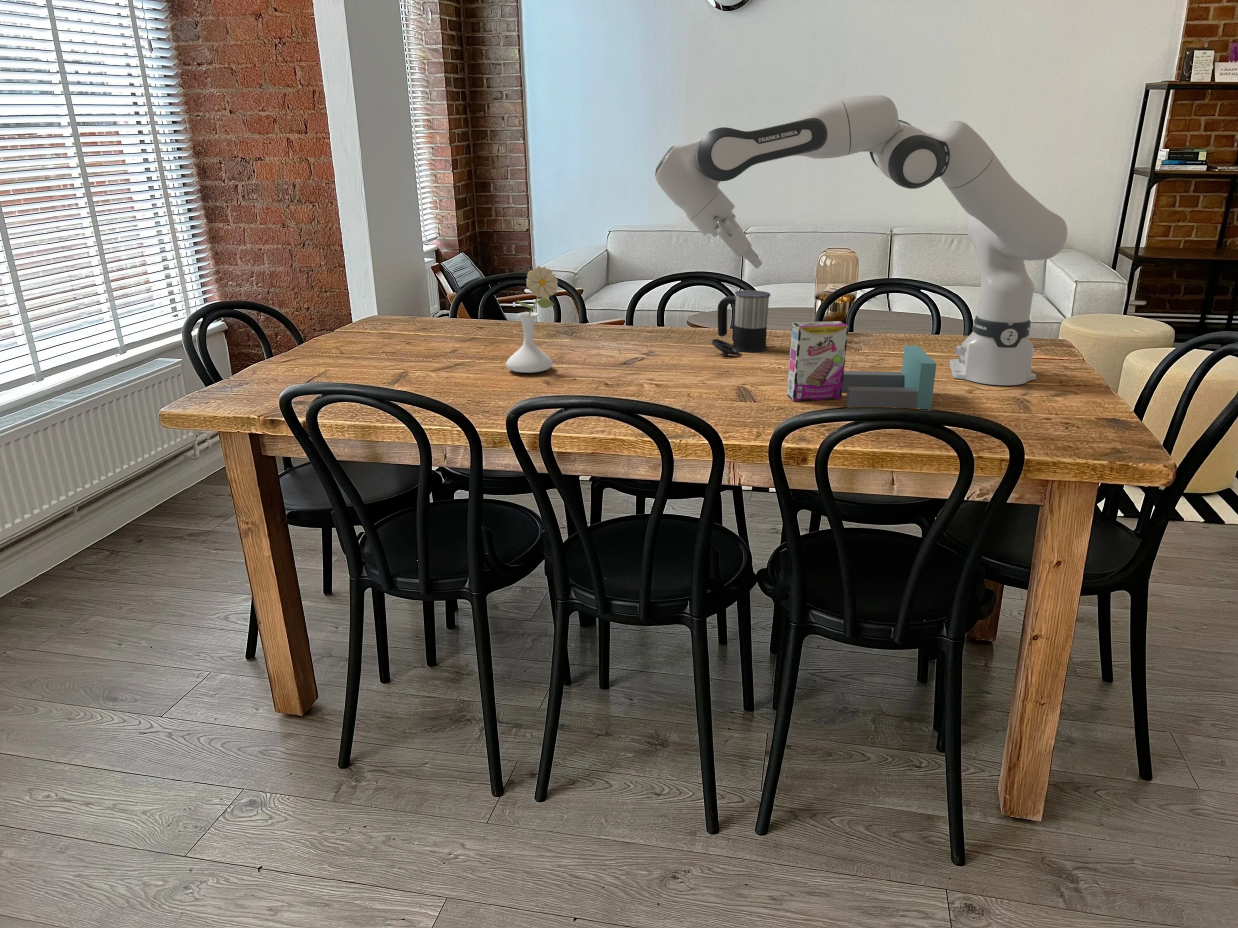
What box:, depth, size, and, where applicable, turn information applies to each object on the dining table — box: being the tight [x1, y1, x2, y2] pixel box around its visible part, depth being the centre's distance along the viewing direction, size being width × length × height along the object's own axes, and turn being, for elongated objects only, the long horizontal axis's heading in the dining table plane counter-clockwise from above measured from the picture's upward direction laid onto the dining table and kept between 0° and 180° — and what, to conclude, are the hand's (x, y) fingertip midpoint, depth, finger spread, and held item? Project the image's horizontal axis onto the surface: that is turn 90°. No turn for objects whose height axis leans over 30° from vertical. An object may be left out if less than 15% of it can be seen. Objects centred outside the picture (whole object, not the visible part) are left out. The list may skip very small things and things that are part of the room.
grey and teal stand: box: [842, 345, 937, 410], centre depth 197 cm, size 16×17×10 cm
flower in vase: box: [505, 265, 559, 374], centre depth 218 cm, size 13×11×25 cm
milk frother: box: [711, 289, 771, 356], centre depth 238 cm, size 14×16×15 cm
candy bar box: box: [786, 320, 849, 402], centre depth 197 cm, size 11×5×16 cm, turn 100°
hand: (757, 262), depth 197 cm, fingers open, 8 cm apart
